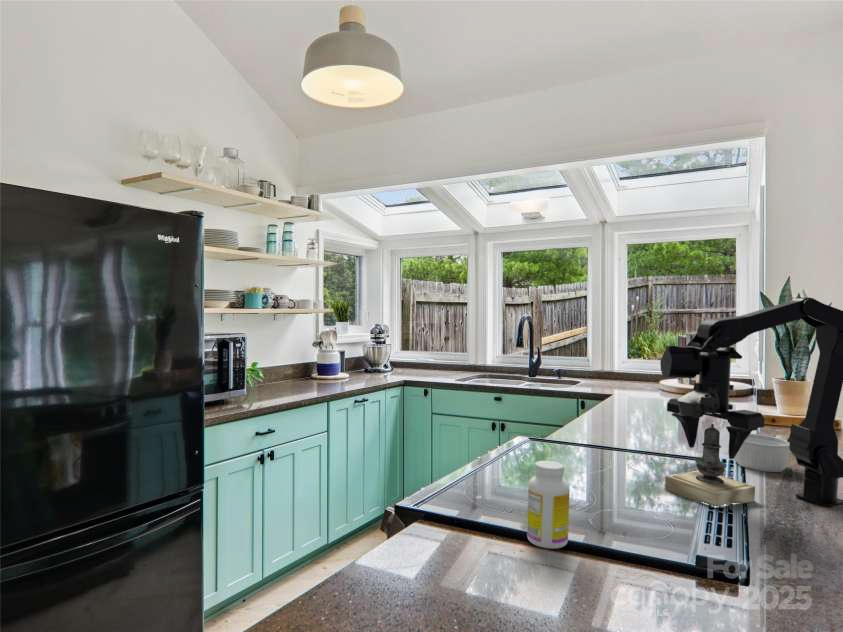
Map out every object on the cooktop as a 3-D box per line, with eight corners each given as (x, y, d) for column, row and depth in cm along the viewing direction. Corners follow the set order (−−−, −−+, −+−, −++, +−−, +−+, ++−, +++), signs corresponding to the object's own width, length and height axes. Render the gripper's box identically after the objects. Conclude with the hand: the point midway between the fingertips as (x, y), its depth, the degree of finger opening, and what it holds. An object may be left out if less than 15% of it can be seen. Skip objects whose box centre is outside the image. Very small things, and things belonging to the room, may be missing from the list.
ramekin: (773, 460, 146) (774, 434, 146) (802, 475, 133) (803, 447, 133) (720, 457, 147) (721, 431, 147) (744, 472, 134) (745, 444, 134)
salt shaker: (729, 485, 113) (732, 427, 113) (698, 483, 114) (701, 425, 114) (720, 476, 119) (722, 421, 119) (690, 474, 120) (693, 419, 120)
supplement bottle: (569, 536, 93) (572, 461, 93) (566, 553, 87) (569, 472, 87) (529, 530, 96) (532, 456, 95) (523, 546, 89) (526, 467, 89)
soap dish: (702, 483, 125) (702, 468, 125) (754, 501, 114) (755, 485, 114) (665, 489, 119) (665, 474, 119) (716, 509, 109) (716, 492, 109)
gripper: (650, 374, 121) (647, 445, 121) (731, 387, 104) (727, 469, 104) (685, 372, 126) (682, 441, 126) (767, 385, 109) (764, 463, 109)
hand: (710, 452), depth 116 cm, fingers open, 9 cm apart
